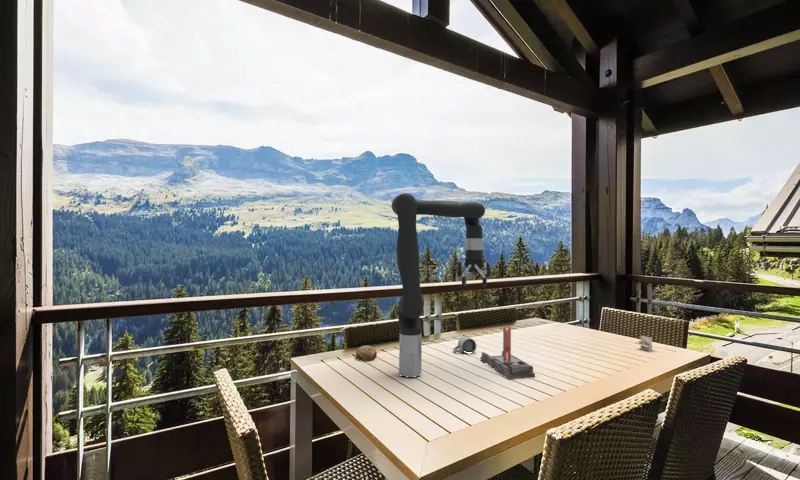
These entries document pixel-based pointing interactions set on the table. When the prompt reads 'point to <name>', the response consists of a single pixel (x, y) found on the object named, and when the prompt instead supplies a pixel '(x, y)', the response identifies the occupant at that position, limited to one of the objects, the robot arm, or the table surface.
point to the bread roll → (366, 353)
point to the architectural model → (645, 343)
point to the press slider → (507, 349)
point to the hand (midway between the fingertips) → (474, 286)
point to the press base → (509, 367)
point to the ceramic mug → (465, 345)
